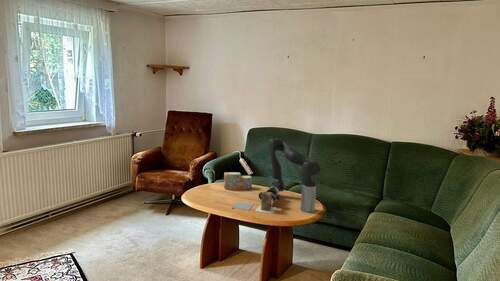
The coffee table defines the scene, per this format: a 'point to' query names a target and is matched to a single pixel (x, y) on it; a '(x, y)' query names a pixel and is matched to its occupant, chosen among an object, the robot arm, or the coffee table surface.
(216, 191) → the coffee table surface
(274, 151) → the robot arm
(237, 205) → the grey mat
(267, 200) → the walnut block
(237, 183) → the stack of blocks
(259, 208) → the white tile
